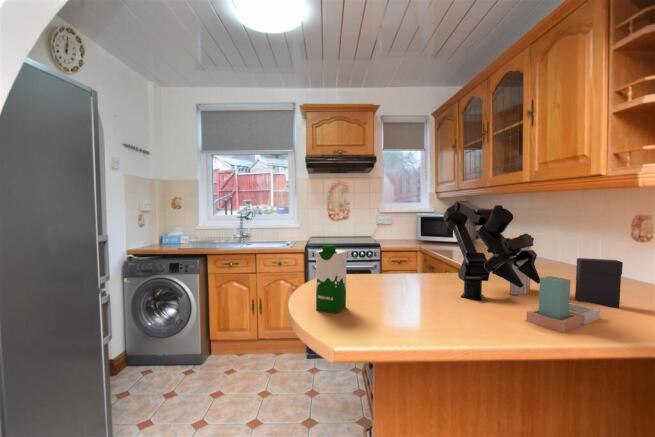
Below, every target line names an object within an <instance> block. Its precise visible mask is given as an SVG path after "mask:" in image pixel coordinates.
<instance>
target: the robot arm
mask: <svg viewBox="0 0 655 437" xmlns="http://www.w3.org/2000/svg"><path fill="white" fill-rule="evenodd" d="M468 220H469V222H470V223H471V225H473V226H474V227H479V229H477V230H475V236H474V239H475V240H479V239H480V240H481V241H482V242H483V244H484V245H485V246H486V247H487V248H488V249H486V251H487V253H488V254H492V256H490V258H488V259H487V257H486V254H485V253H484V252H478V251H477V249H476V246H475V244H474V241H473V240H472V237H471V235H470V232H469V230H468V228H467V225H466V224H467V222H468ZM513 220H514V214H513V213H512V212H511V211H510V210H508V209H506V208H505V207H503V205H502V204H501V205H499V204H498V205H497V204H495V205H494V206H493V208H485V207H480V206H477V205H475V204H473V203H471V202H470V201H468V200H457V201H454V203H453V205H451V206H449V207H448V208H446V210H445V212H444V213H443V221H444V223H445V225H446V227H447V228H448V229H449V230H452V232H453V233H454V236H455V238H456V241H457V243H458V247H459V249H460V251H461V255H462V258H463V260H462V263H461V266H460V268H459V270H458V271H457V273H458V279H459V280H461V281H463V293H462V294H461V295H460V297H461V298H465V299H470V300H477V301H482V299H483V298H484V296H485V295H484V294H482V292H483V291H482V289H483V282H488V281H489V279H490V273H491V274H493V275H495V276H498V277H499V278H501V279H504V280H506V282H509V283H510V282H511V283H512V284H514V285H516V286H518V287H520V288H521V287H523V286H524V285H523V283H522V282H521V280H520V279H519V277H518V276H517V274H516V273H515V271H514V270H513V268H512V263H513V264H514V266H516V267H518V268H517V269H518V270H519V271H520V272H522V273H523V274H525V275H526V276H527V277H529V278H530V280H531V281H533V282H534V283H536V284H538V285H540V278H541V277H540V275H539V273H538V271H537V268H536V265H535V261H536V260H537V257H538V254H537V253H536V252H535V251H534V249H531V250H523V251H522V250H521V249H522V248H525V247H528V246H531V247H533V246H535V244H534V240H535V238H534V237H532V235H531V234H529V233H523V234H519V235H520V236H519V237H516V238H513V239H511V238H510V237H507V238H506V237H505V236H504V235H503V233H504V232H505V231H506V230H507V228H508V227H509V226H510V224H511V223H512V221H513ZM519 252H520V253H519ZM517 253H519V254H518V255H517Z"/></svg>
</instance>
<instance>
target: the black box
mask: <svg viewBox="0 0 655 437" xmlns="http://www.w3.org/2000/svg"><path fill="white" fill-rule="evenodd" d="M623 264H624V263H623V262H622V261H620V260H617V259H604V258H602V259H600V258H587V257H586V258H585V257H584V258H583V257H578V258H576V272H575V275H576V276H575V293H574V294H575V298H574V300H575V301H577V302H581V303H589V304H594V305H598V306H604V307H607V308H615V309H618V308H620V303H621V285H622V284H621V282H622V275H623Z"/></svg>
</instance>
